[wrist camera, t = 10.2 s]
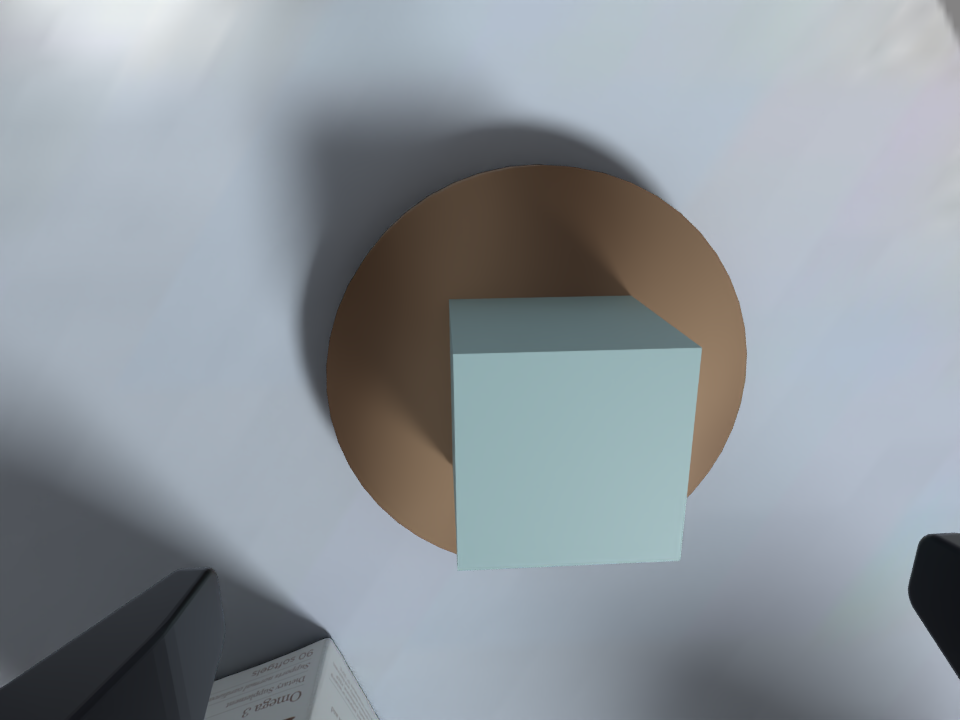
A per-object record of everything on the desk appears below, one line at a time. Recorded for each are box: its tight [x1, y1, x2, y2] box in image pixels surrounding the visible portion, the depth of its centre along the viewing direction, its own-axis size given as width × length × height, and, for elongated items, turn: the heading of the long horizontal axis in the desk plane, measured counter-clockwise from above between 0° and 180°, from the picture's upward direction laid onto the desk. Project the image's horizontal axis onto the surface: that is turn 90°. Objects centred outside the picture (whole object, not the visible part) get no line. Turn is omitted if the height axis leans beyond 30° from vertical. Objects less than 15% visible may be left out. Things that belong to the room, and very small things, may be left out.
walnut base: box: [326, 164, 747, 554], centre depth 19 cm, size 12×12×2 cm
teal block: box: [449, 296, 702, 571], centre depth 16 cm, size 5×5×5 cm
